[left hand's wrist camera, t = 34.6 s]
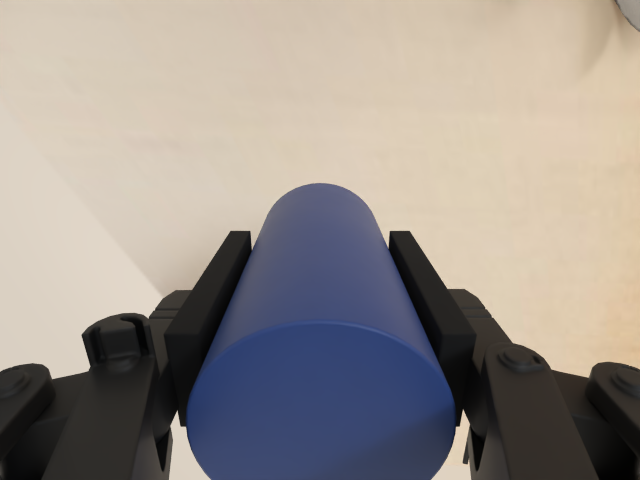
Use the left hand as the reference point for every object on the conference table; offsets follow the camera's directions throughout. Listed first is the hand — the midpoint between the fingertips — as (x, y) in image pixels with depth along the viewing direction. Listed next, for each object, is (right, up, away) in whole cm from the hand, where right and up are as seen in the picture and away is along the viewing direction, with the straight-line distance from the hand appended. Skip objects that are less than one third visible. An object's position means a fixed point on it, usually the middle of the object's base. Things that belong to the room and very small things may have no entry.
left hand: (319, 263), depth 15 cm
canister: (0, +1, +3) cm, 3 cm away
